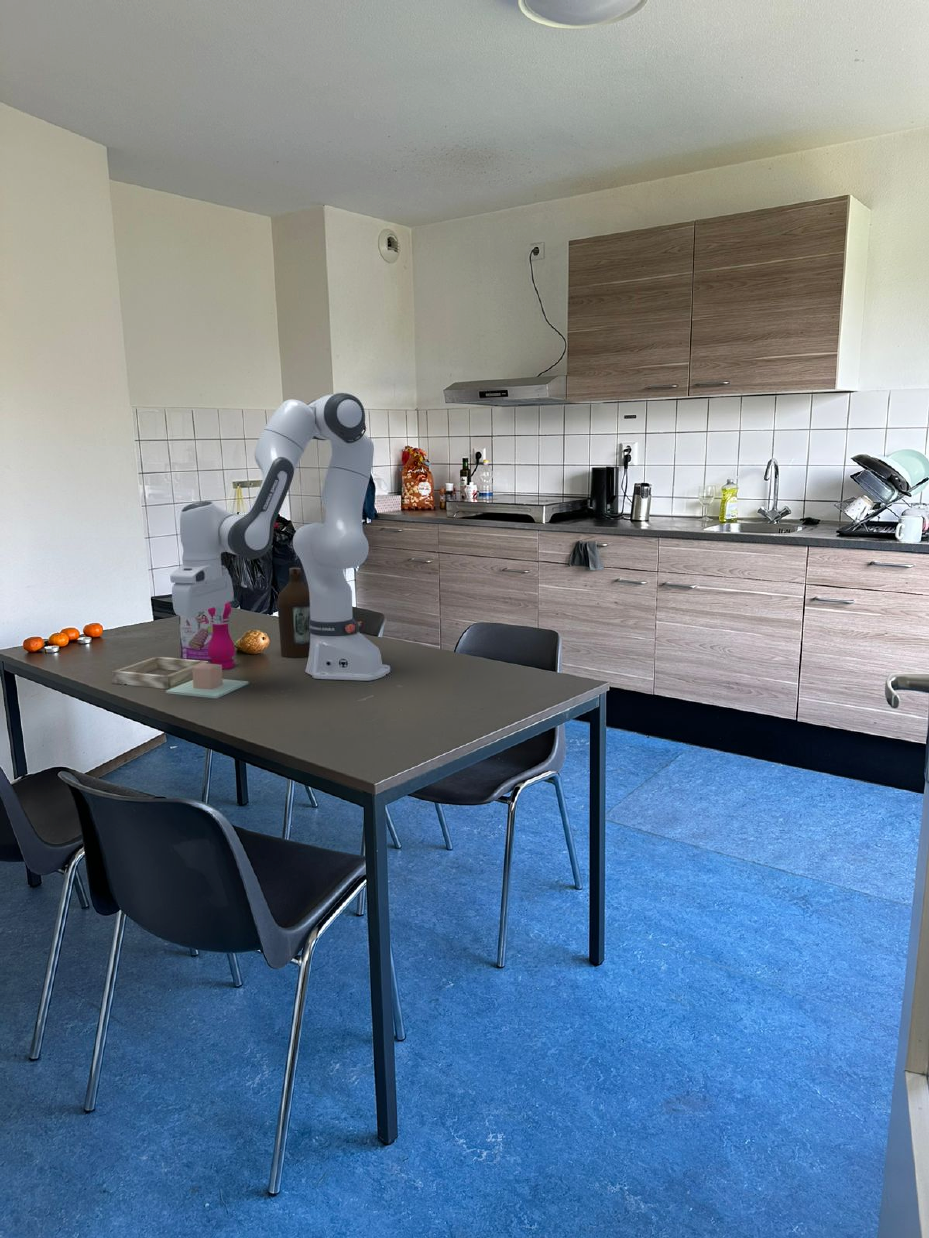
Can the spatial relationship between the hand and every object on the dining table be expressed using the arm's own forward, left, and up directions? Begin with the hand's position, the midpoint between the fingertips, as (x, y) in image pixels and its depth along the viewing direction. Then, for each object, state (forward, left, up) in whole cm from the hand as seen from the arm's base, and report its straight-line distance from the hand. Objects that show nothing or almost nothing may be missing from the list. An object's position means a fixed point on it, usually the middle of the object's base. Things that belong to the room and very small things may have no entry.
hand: (207, 626), depth 210 cm
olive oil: (-3, -40, -16) cm, 43 cm away
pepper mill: (+9, -20, -16) cm, 27 cm away
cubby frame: (+17, -5, -15) cm, 24 cm away
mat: (0, 0, -15) cm, 15 cm away
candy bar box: (+19, -26, -16) cm, 36 cm away
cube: (0, 0, -15) cm, 15 cm away
